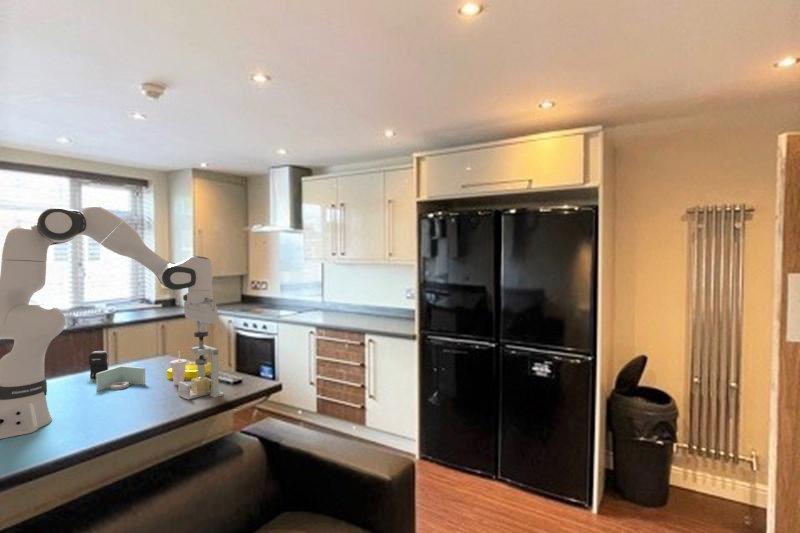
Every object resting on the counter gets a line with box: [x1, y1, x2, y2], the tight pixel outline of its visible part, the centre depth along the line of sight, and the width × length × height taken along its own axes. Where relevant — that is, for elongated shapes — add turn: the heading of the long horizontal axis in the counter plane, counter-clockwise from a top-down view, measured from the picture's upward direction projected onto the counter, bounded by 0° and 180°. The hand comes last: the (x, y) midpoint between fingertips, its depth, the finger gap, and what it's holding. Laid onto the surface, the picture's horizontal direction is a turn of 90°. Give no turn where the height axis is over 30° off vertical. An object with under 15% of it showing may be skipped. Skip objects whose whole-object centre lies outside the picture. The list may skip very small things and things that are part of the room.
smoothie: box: [169, 350, 188, 386], centre depth 187 cm, size 6×6×14 cm
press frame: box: [190, 344, 225, 399], centre depth 176 cm, size 7×17×18 cm, turn 50°
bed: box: [177, 378, 211, 400], centre depth 175 cm, size 12×8×5 cm, turn 140°
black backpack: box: [88, 350, 110, 379], centre depth 195 cm, size 7×4×11 cm, turn 100°
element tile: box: [166, 361, 211, 381], centre depth 201 cm, size 15×15×5 cm
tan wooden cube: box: [190, 376, 211, 393], centre depth 175 cm, size 5×5×5 cm
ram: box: [193, 330, 209, 365], centre depth 175 cm, size 5×5×12 cm
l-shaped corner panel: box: [95, 365, 146, 392], centre depth 182 cm, size 12×12×8 cm
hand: (201, 332), depth 175 cm, fingers closed, pressing on ram
